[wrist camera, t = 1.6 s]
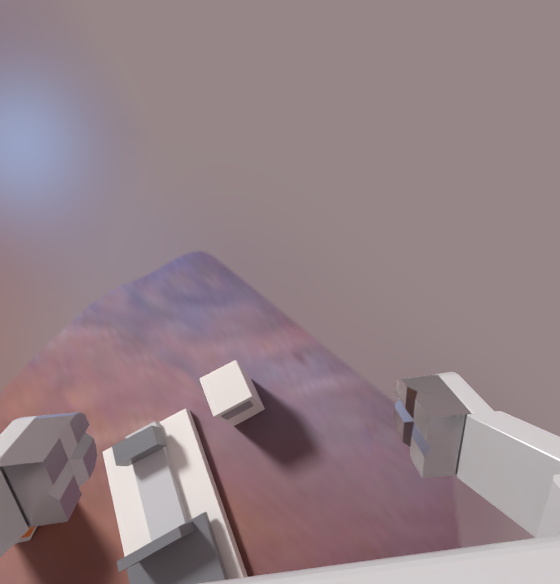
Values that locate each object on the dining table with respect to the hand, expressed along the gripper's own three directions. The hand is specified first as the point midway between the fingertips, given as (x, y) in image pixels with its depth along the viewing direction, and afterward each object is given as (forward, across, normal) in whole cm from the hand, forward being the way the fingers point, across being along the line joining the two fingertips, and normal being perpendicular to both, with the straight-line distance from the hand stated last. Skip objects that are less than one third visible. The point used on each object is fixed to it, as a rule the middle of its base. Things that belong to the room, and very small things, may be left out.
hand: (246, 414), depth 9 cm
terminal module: (+26, +3, +20) cm, 33 cm away
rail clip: (+17, +10, +27) cm, 34 cm away
